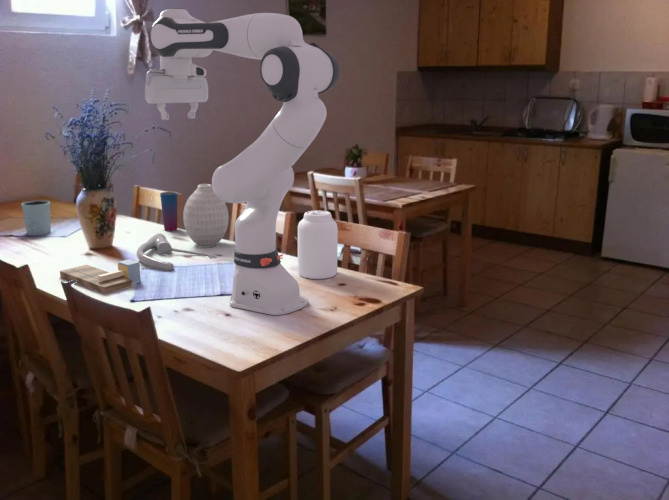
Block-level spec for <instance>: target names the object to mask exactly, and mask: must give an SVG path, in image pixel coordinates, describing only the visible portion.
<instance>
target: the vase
mask: <svg viewBox="0 0 669 500" xmlns="http://www.w3.org/2000/svg"><path fill="white" fill-rule="evenodd" d="M182 213H183V214H182V218H183V219H182V221H183V226H184V229H185V232H186V233H187V236H188V237H189V238H190V240H192V242H193V243H194V244H195V245H197V247H201V248H209V247H210V248H212V247H214V246H216V245H218V243H220V242H221V241H222V239H223V237H224V236H225V234H226V231H227V229H228V227H229V210H228V206H227V204H226V202H222V201H221V200H219V199H218V198H217V196H216V195H215V193H214V191H213V188H212V184H210V183H200V184H198V185H197V188H196V189H195V190H194V191H193V192H192V193H191V195H189V197H188V198H187V200H186V202H185V204H184V208H183V212H182Z"/></svg>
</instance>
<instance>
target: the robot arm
mask: <svg viewBox="0 0 669 500" xmlns="http://www.w3.org/2000/svg"><path fill="white" fill-rule="evenodd" d="M303 36H304V35H303V30H302V27H301V24H300V22H299V21H298V20H297V19H296V18H295V17H293V16H291V15H288V14H283V13H274V12H259V13H258V12H256V13H252V14H243V15H240V16H236V17H230V18H227V19H222V20H221V19H220V20H215V21H209V22H205V21H203V20H200V19H198V18H195V17H194V16H192V15H191V14H190V13H189V12H188V10H187V9H184V8H181V7H180V8H179V7H177V8H176V7H174V8H167V9H165V10H163V11H161V12H160V15H159V17H158V18H157V20H156V21H154V23H153V24H152V26H151V28H150V31H149V41H150V44H151V45H152V47H153V49H154V50H155V51H156V53H157V54H158V55H159V65H160V67H159V69H154V68H150V69H149V70H148V71H147V72H146V73H145V88H144V100H145V101H146V102H147V104H156V107H157V109H158V111H159V113H160V118H161V120H163V121H166V120H167V121H168V120H170V113H168V112H167V111H166V109H165V108H167V105H166V104H185V103H186V104H188V103H189V106H190V109H189V111H188V112H187V118H188V119H196V112H197V110H198V108H199V103H207V101H208V99H209V84H208V80H207V78H206V76H207V69H206V68H204V67H202V66H199V65H197V64H195V63H193V60H192V59H193V58H206V57H209V56H211V55H212V54H213V53H214V51H216V52H220V53H224V54H225V53H226V54H230V55H234V56H237V57H240V58H242V57H243V58H246V59H253V60H260V63H259V73H260V78H261V80H262V82H263V84H264V86H265V87H266V89H267V90H268V91H269V92H270V93H271V94H272V97H273V99H274V100H276V101H277V102H281V103H283V104H282V106H281V108H280V110H279V111H278V112H277V113H276V115H275V116H274V118H273V119H272V120H271V122H270V123H269V124H268V125H267V127H266V128H265V129H264V131H263V132H262V133H261V134H260V135H259V137H257V139H256V140H255V141H253V142H252V143H251V144H250V145H249V146H247V147H246V148H245V149H244V150H243V151H241V152H240V153H239V154H238V155H236V156H235V157H234V158H233V159H231V160H229V161H228V162H226V163H224V164H222V165H220V166H218V167H216V168H215V170H214V172H213V174H212V177H211V185H212V188H213V191H214V193H215V195H216V196H217V198H218V199H219V200H221V201H222V202H225V204H226V203H229V204H244V203H246V204H245V207H244V210H243V211H242V212H241V214H240V215H239V216H238V217H237V219H236V220H235V223H234V242H235V243H234V246H235V247H234V250H233V262H234V265H235V268H234V273H233V281H232V291H231V296H230V302H229V304H230V305H229V306H230V307H233V308H237V309H240V310H241V309H242V310H247V311H251V312H256V313H260V314H261V313H262V314H267V315H271V316H280V315H286V314H289V313H293V312H296V311H298V310H300V309H303V308H305V307H306V306H308V304H309V299H308V298H306V297H304V296H302V295H300V294H301V293H300V292H301V291H300V285H299V282H298V281H297V280H296V279H295V278H294V276H292V274H291V273H290V272H289V271H288V270H287V269H286V268H285V267H284V266H283V265H282V263H281V262H282V261H281V260H282V259H284V254H279V252H278V249H277V248H276V242H277V241H276V238H277V237H276V236H277V235H276V232H277V219H278V215H279V211H280V208H281V205H282V202H283V201H284V198H285V196H286V195H287V193H288V192H289V191H290V190H291V189H292V187H293V185H294V181H295V172H294V169H293V166H294V165H295V164H296V162H297V161H298V160H299V159H300V157H301V156H303V154H304V152H306V150H307V149H308V147H310V145H311V144H312V142H313V141H314V140H315V138H316V137H317V136H318V134H319V133H320V130H321V129H322V127H323V125H324V123H325V121H326V119H327V116H328V115H327V113H328V112H327V107H326V106H325V103H324V102H323V100H321V99H322V98H321V99H320V98H319V94H323V93H326V92H328V91H330V90H332V89H333V88H334V87H336V85H337V83H338V81H339V79H340V73H341V72H340V71H341V70H340V65H339V63H338V60H337V58H335V56H334V55H333V54H332V53H330V52H329V51H327V50H325V49H323V48H322V47H321V46H320V45H318V44H316V43H315V42H310V43H306V42H305V40H304V37H303Z"/></svg>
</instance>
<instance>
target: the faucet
mask: <svg viewBox="0 0 669 500" xmlns="http://www.w3.org/2000/svg"><path fill="white" fill-rule="evenodd" d="M154 249H156V251H157V252H158V254H159V255H171V254H172V252H177V253H182V254H189V255H196V256H202V257H208V258H210V259H216V258H218V256H216V255H213V254H209V253H205V252H204V253H203V252H197V251H191V250H185V249H179V248H176V247H175V248H174V247H173V246H172V244H170V242H169V241H168V239H167V238H166V236H165V235H164V234H163V233H156V234H154V235H153V236H152V237H150V238H149V239H148V240H147V241H145V242H144V243H143V244H141V245H139V247H138V248H137V250H136V252H135V253H136V257H137V259H138V261H140V262H141V263H143V264H144V265H146V266H148V267H151V268H153V269H157V270H160V271H166V272H171V271H173V269H174V268H175V267H174V264H173V263H172V262H165V261H162V260H158V259H155V258H152V257H150V256H147V255H146V254H145V253H146V252H148V251H150V250H154Z"/></svg>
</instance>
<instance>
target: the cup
mask: <svg viewBox="0 0 669 500" xmlns="http://www.w3.org/2000/svg"><path fill="white" fill-rule="evenodd" d="M178 195H179V194H178V191H162V192H160V193H159V196H160V204H161V213H162V221H163V230H164V231H166V232H175V231H177V230H178V207H179V206H178V200H179V199H178Z"/></svg>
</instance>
